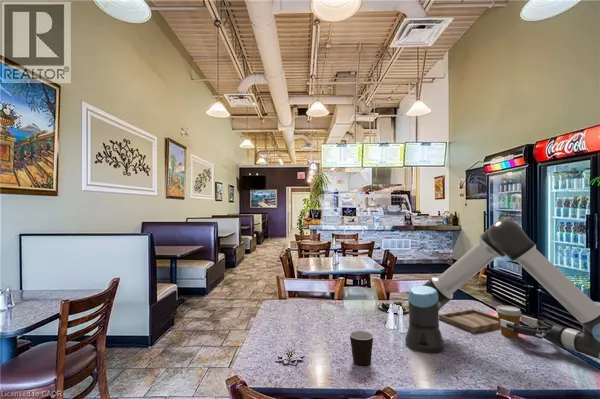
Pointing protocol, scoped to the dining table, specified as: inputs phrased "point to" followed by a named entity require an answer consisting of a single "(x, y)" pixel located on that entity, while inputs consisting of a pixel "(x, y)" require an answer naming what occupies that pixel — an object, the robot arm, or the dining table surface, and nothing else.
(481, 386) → the dining table surface
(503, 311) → the disposable coffee cup
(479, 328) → the serving tray
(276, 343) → the dining table surface
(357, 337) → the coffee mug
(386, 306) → the salad plate
